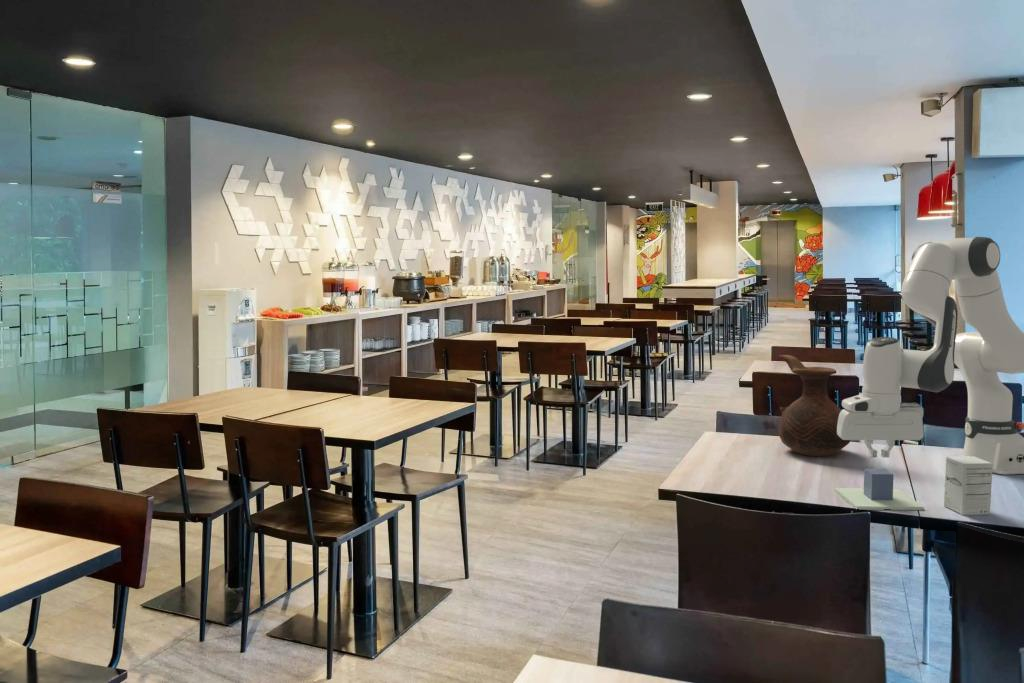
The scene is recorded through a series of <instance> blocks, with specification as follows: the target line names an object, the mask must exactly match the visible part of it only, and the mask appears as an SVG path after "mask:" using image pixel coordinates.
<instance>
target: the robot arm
mask: <svg viewBox="0 0 1024 683" xmlns="http://www.w3.org/2000/svg"><path fill="white" fill-rule="evenodd" d="M1000 251H1001V250H1000V247H999V244H998V243H997V242H996V241H995V240H994V239H992V238H991V237H986V236H975V237H954V238H950V239H945V240H940V241H935V242H932V241H929V242H926V243H923V244H920V245H919V246H917V248H916V249H915V250H914V252H913V253H912V255H911V261H910V264H909V266H908V267H907V270H906V273H905V276H904V278H903V282H902V285H901V293H900V294H901V298H902V300H903V302H904V304H905V305H906V306H907V307H908V308H909V309H910V310H911V311H914V312H915V313H917V314H919V315H921V316H923V317H925V318H928V319H930V320H932V321H934V322H935V330H934V339H933V346H932V348H931V349H927V350H917V349H907V348H903V347H901V342H900V340H899V339H898V338H896V337H895V338H894V337H891V336H880V337H874V338H871V339H870V340H867V342H866V345H865V348H864V353H863V360H862V361H863V362H862V376H863V380H864V381H863V385H862V387H861V389H862V390H861V393H860V394H857V395H854V396H851V397H847V398H844V399H842V400H841V406H842V408H843V409H841V412H840V414H839V417H838V423H837V435H838V436H839V437H840V438H841V439H843V440H850V441H864V445H865V446H866V448H867V449H868V457H869V458H878V450H876V449H874V448H873V446H872V445H873V444H874V441H885V443H887V444H886V446H885V447H884V448H883V449H880V457H881V458H887V459H888V458H890V455H891V454H890V453H891V451H892V450H893V448H894V446H895V445H896V441H921V440H922V439H923V437H924V422H923V418H924V408H923V406H922V405H920V404H919V403H917V402H901V400H902V399H901V397H902V395H901V393H902V389H901V388H907V389H908V388H909V389H917V390H918V389H919V390H922V391H927V392H933V393H940V392H942V391H944V390H946V389H947V388H948V387H949V386H951V384H952V383H953V381H954V377H955V366H956V367H957V368H958V370H959V371H960V372H961V375H962V377H963V379H964V381H965V385H966V389H967V416H966V417H965V425H964V435H965V440H964V446H963V450H962V453H961V456H974V457H977V458H979V459H982V460H985V461H987V462H990V463H993V468H992V474H999V475H1019V474H1020V475H1021V474H1022V475H1023V474H1024V437H1023V436H1022V435H1021V434H1020V433H1018V429H1019V430H1020V431H1024V422H1020V421H1015V420H1014V419H1012V418H1013V416H1012V415H1013V402H1014V398H1013V397H1014V396H1013V394H1012V393H1013V392H1012V391H1011V389H1010V388H1008V387H1007V386H1006V385H1004V384H1003V382H1002V381H1001V379H1000V377H999V375H998V373H1002V374H1012V375H1015V374H1018V375H1019V374H1024V332H1023V331H1022V330H1021V328H1019V326H1018V325H1017V324H1016V322H1015V321H1014V320H1013V317H1012V316H1011V315H1010V313H1009V311H1008V308H1007V305H1006V304H1007V303H1006V301H1005V298H1004V294H1003V290H1002V285H1001V281H1000V277H999V273H998V270H997V269H998V267H999V265H1000V262H1001V252H1000ZM953 280H954V288H955V292H956V297H957V301H958V305H957V302H956V300H955V298H953V297H951V296H950V288H951V284H952V281H953ZM958 306H959V309H960V315H961V317H962V320H963V321H964V322H965V323H966V324H967V325H969V326H970V327H972V328H973V329H974V330H975V331H966V332H960V333H959V332H958V331H957V330H958V328H957V327H958ZM957 332H958V333H957Z"/></svg>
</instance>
